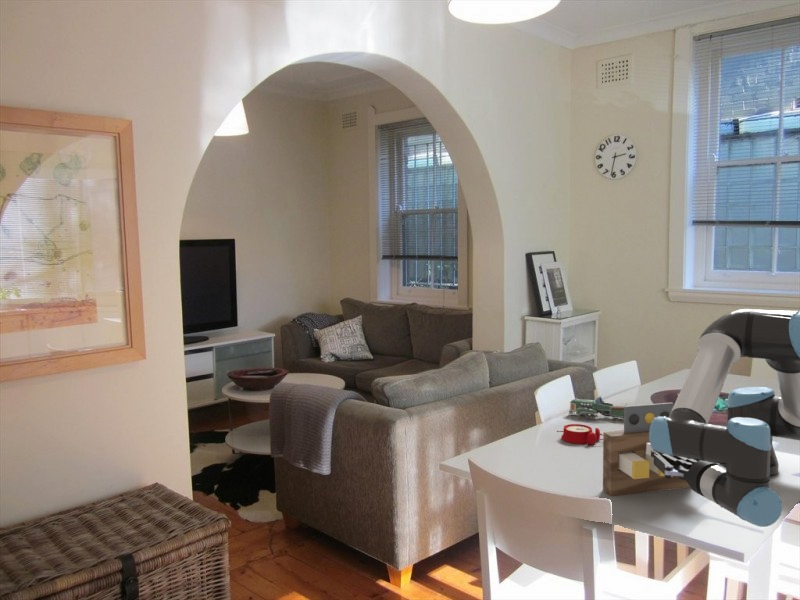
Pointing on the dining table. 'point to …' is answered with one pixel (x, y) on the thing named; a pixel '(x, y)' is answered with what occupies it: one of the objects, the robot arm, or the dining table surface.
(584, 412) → the hoverbike
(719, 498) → the robot arm
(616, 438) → the panel
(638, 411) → the card
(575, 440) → the alarm clock
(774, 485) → the dining table surface
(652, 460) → the button mid
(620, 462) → the button
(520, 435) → the dining table surface
